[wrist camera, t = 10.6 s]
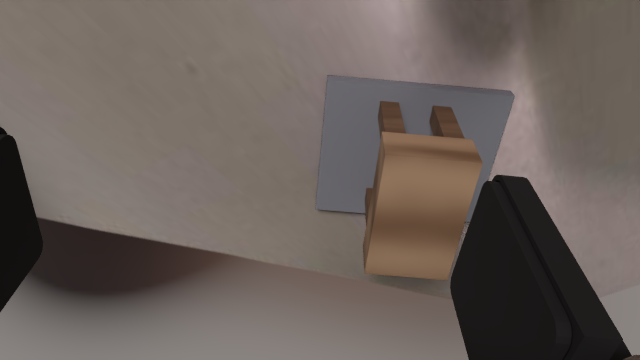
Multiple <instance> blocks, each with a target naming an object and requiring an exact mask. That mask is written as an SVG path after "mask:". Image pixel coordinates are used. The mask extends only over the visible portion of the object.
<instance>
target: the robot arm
mask: <svg viewBox="0 0 640 360" xmlns="http://www.w3.org/2000/svg"><path fill="white" fill-rule="evenodd" d="M42 247H43V241H42V236H41V233H40V229H39V225H38V221H37V218H36V214H35V210H34V207H33V203H32V199H31V196H30V192H29V188H28V185H27V181H26V177H25V173H24V170H23V166H22V162H21V159H20V155H19V151H18V148H17V144H16V141H15V139H14V138H13V137H12V136H10V135H7V133H6V131H5V130H4V129H3V128H1V127H0V312H1V310H2V309H3V308H4V306H5V305H6V303H7V302H8V301H9V299H10V298H11V296H12V295H13V294H14V292H15V291H16V289H17V288H18V287H19V285H20V284H21V282H22V281H23V280H24V278H25V277H26V275H27V274H28V273H29V271H30V270H31V268H32V267H33V266H34V264H35V263H36V261H37V260H38V258H39V257H40V255H41V252H42ZM450 288H451V295H452V299H453V302H454V306H455V310H456V313H457V317H458V321H459V325H460V328H461V332H462V336H463V339H464V343H465V347H466V351H467V354H468V358H469V360H640V355H633V356H632V355H631V354H630V352H629V350H628V349H627V347H626V345H625V343H624V342H623V339H622V337H621V335H620V333H619V332H618V330H617V328H616V327H615V325H614V323H613V322H612V320H611V318H610V317H609V315H608V313H607V312H606V310H605V308H604V307H603V305H602V303H601V302H600V300H599V298H598V296H597V295H596V293H595V291H594V290H593V288H592V286H591V285H590V283H589V281H588V280H587V278H586V276H585V275H584V273H583V271H582V269H581V268H580V266H579V264H578V263H577V261H576V259H575V258H574V256H573V254H572V253H571V251H570V249H569V248H568V246H567V244H566V243H565V241H564V239H563V237H562V236H561V234H560V232H559V231H558V229H557V227H556V226H555V224H554V222H553V221H552V219H551V217H550V216H549V214H548V212H547V211H546V209H545V207H544V205H543V204H542V202H541V200H540V199H539V197H538V195H537V194H536V192H535V190H534V189H533V187H532V185H531V184H530V182H529V180H528V179H527V178H524V177H515V176H505V175H496V176H495V177H494V178H493V180H492V181H486V182H485V183H484V184H483V186H482V188H481V191H480V194H479V197H478V200H477V203H476V206H475V209H474V212H473V215H472V218H471V221H470V224H469V227H468V229H467V232H466V235H465V238H464V241H463V244H462V247H461V250H460V253H459V256H458V259H457V262H456V265H455V268H454V271H453V273H452V277H451V285H450Z"/></svg>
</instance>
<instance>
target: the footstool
mask: <svg viewBox="0 0 640 360" xmlns="http://www.w3.org/2000/svg"><path fill="white" fill-rule="evenodd" d="M429 123H430V126H431V129H432V132H433V135H434V136H428V135H416V134H406V132H405V128H404V123H403V119H402V115H401V110H400V106H399V102H387V101H380V106H379V112H378V124H379V131H380V138H381V141H380V147H379V153H378V159H377V165H376V171H375V177H374V183H373V188H366V195H365V216H366V231H365V237H364V243H363V254H364V271H365V274H377V275H389V276H402V277H414V278H427V279H439V280H447V279H448V276H449V273H450V269H451V266H452V263H453V260H454V256H455V253H456V250H457V246H458V243H459V240H460V237H461V233H462V230H463V227H464V224H465V220H466V217H467V214H468V210H469V207H470V204H471V201H472V197H473V194H474V191H475V188H476V184H477V181H478V178H479V174H480V171H481V168H482V165H483V162H482V160H481V158H480V155H479V153H478V151H477V149H476V147H475V144H474V142H473V140H472V139H465V138H464V136H463V133H462V131H461V129H460V126H459V124H458V122H457V119H456V117H455V115H454V112H453V110H452V108H451V107H446V106H434V105H433V107H432V112H431V116H430V121H429Z"/></svg>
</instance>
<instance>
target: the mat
mask: <svg viewBox="0 0 640 360" xmlns="http://www.w3.org/2000/svg"><path fill="white" fill-rule="evenodd" d="M514 97H515V96H514V95H513V93H512V92H511V91H505V90H494V89H482V88H471V87H459V86H448V85H436V84H425V83H413V82H401V81H390V80H378V79H367V78H355V77H344V76H332V75H327V86H326V97H325V108H324V119H323V130H322V140H321V151H320V162H319V173H318V184H317V195H316V208H315V209H318V210H330V211H343V212H355V213H365V195H366V188H373V183H374V177H375V171H376V165H377V159H378V153H379V147H380V141H381V138H380V131H379V124H378V112H379V106H380V101H387V102H399V106H400V110H401V115H402V119H403V123H404V128H405V132H406V134H416V135H428V136H434V135H433V132H432V129H431V126H430V123H429V121H430V116H431V112H432V107H433V105H434V106H446V107H451V108H452V110H453V112H454V115H455V117H456V119H457V122H458V124H459V126H460V129H461V131H462V133H463V136H464V138H465V139H472V140H473V142H474V144H475V147H476V149H477V151H478V153H479V155H480V158H481V160H482V162H483V165H482V168H481V171H480V174H479V178H478V181H477V184H476V188H475V191H474V194H473V197H472V201H471V204H470V207H469V210H468V214H467V217H466V220H465V222H470V221H471V218H472V215H473V212H474V209H475V206H476V203H477V200H478V197H479V194H480V191H481V188H482V186H483V184H484V183H485V182H486V181H488V178H489V175H490V172H491V169H492V166H493V163H494V159H495V156H496V153H497V150H498V147H499V144H500V141H501V138H502V134H503V131H504V128H505V125H506V122H507V119H508V116H509V113H510V109H511V106H512V103H513V100H514Z"/></svg>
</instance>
